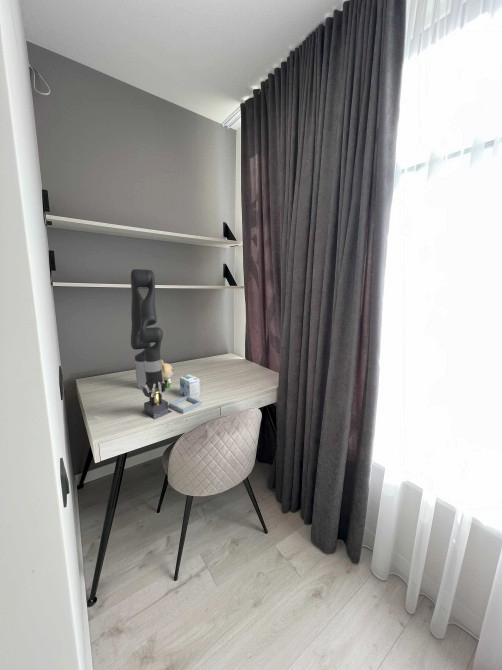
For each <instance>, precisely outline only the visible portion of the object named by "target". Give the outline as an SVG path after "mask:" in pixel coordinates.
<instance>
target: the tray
mask: <svg viewBox="0 0 502 670" xmlns="http://www.w3.org/2000/svg"><path fill="white" fill-rule="evenodd" d="M185 401H189V402H191V403H193V404H192V405H189V406H187V407H185V408H183V407H180V406H179V404H181V403H183V402H185ZM201 406H202V401H201V400H198V398H195V399H194V398H192V397H190V396H183V397H180V398H179V399H176V400H172V401H171V402H168V408H171V409H173V410H174V411H177V412H179V413H182V414H183V415H185V414H186V413H188V412H190V411H193V410H195V409H197V408H199V407H201Z"/></svg>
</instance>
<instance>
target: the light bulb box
mask: <svg viewBox="0 0 502 670" xmlns="http://www.w3.org/2000/svg"><path fill="white" fill-rule="evenodd" d="M200 386H201V385H200V378H198V377H196V376H194V375H192V374H186V375H183V376H179V387H180V388H179V389H180V395H181V396H183V397H185V396H190V397H192V398H194V399H198V398H199V397H201V392H200V391H201V390H200V389H201V388H200Z"/></svg>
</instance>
